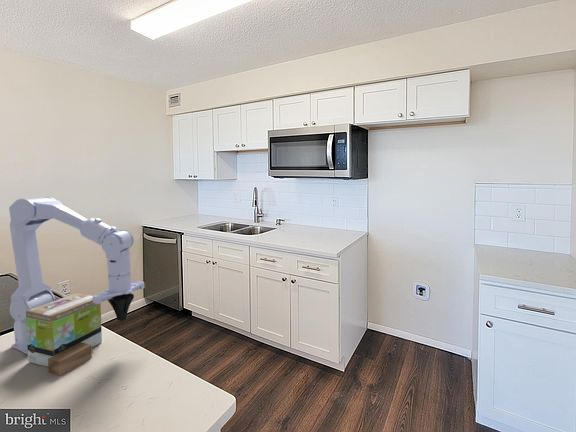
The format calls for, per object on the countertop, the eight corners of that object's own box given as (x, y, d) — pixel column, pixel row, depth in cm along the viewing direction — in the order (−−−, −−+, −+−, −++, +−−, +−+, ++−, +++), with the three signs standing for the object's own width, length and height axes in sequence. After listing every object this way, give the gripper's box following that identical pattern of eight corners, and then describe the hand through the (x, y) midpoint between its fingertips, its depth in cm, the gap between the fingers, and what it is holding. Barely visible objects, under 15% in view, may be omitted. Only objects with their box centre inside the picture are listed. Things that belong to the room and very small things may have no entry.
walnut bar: (48, 373, 83) (47, 358, 82) (81, 355, 91) (80, 342, 91) (59, 376, 81) (58, 361, 81) (91, 358, 90) (91, 344, 89)
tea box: (55, 369, 84) (51, 315, 82) (27, 363, 87) (23, 310, 85) (103, 342, 98) (101, 295, 97) (78, 337, 101) (75, 291, 99)
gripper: (103, 283, 83) (105, 333, 84) (150, 269, 95) (152, 313, 97) (86, 278, 86) (89, 327, 87) (135, 266, 99) (136, 308, 100)
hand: (121, 319), depth 92 cm, fingers closed
